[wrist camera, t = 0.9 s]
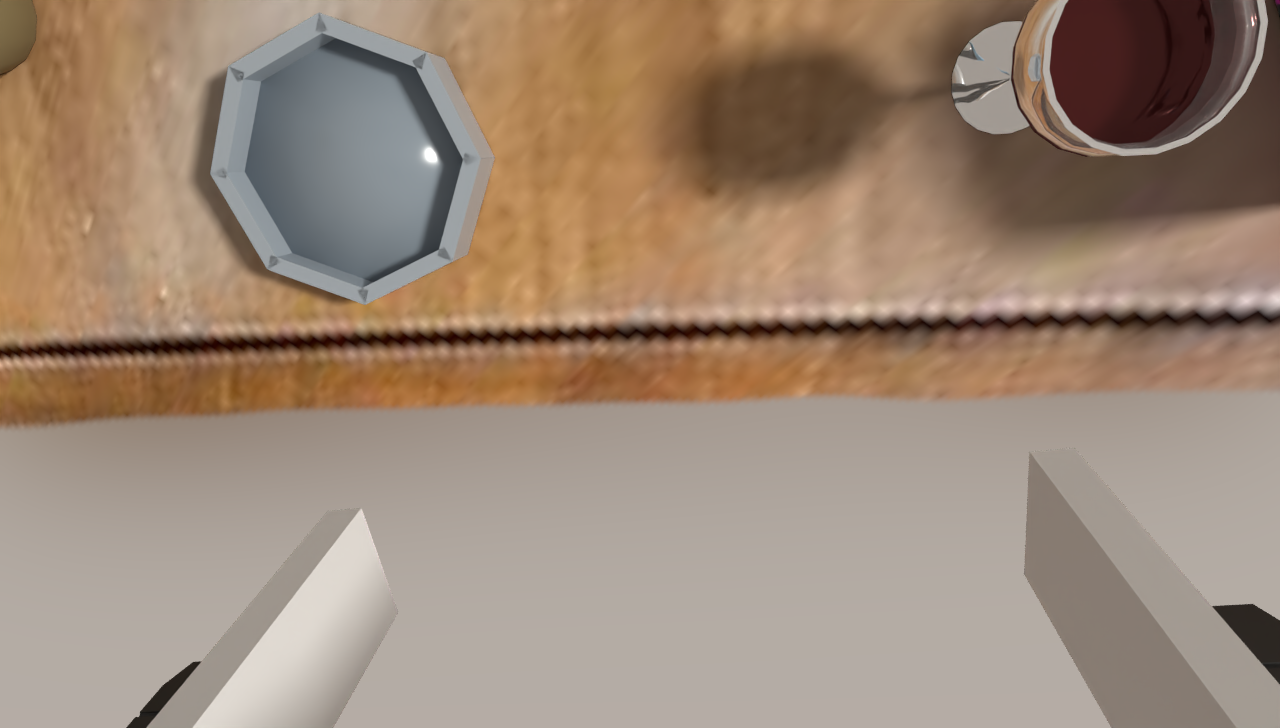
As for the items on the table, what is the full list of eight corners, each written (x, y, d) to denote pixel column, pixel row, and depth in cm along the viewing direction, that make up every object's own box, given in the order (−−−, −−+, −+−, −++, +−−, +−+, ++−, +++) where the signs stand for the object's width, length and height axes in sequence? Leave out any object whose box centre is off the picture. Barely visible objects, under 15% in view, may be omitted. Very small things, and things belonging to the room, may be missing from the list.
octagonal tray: (200, 104, 39) (167, 102, 36) (407, -16, 36) (385, -28, 34) (328, 323, 41) (305, 334, 39) (528, 224, 39) (517, 229, 36)
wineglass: (1078, -17, 34) (1270, -100, 22) (1086, 136, 36) (1269, 133, 24) (924, 19, 35) (1032, -43, 23) (939, 167, 36) (1047, 178, 25)
